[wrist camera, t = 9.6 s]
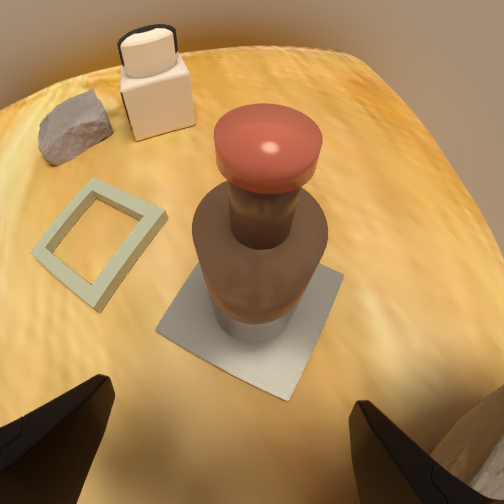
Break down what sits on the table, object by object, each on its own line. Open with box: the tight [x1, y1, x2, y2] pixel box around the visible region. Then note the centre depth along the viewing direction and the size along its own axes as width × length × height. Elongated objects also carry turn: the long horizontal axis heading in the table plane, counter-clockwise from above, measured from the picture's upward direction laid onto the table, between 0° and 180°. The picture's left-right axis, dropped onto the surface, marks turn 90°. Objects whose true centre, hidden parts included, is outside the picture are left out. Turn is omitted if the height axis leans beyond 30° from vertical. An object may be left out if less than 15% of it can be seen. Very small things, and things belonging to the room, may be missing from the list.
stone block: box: [38, 89, 112, 166], centre depth 30 cm, size 12×5×10 cm
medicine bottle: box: [117, 24, 196, 141], centre depth 26 cm, size 7×7×12 cm
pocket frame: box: [30, 177, 168, 313], centre depth 22 cm, size 10×10×1 cm
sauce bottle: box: [192, 104, 328, 343], centre depth 14 cm, size 5×5×14 cm
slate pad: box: [155, 262, 344, 401], centre depth 20 cm, size 10×10×1 cm
